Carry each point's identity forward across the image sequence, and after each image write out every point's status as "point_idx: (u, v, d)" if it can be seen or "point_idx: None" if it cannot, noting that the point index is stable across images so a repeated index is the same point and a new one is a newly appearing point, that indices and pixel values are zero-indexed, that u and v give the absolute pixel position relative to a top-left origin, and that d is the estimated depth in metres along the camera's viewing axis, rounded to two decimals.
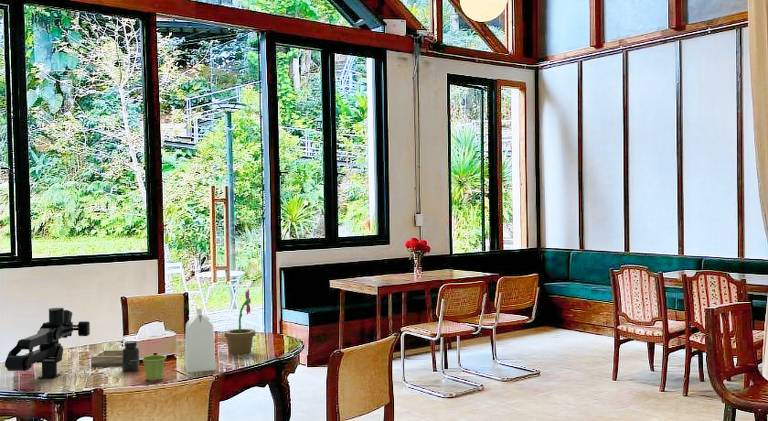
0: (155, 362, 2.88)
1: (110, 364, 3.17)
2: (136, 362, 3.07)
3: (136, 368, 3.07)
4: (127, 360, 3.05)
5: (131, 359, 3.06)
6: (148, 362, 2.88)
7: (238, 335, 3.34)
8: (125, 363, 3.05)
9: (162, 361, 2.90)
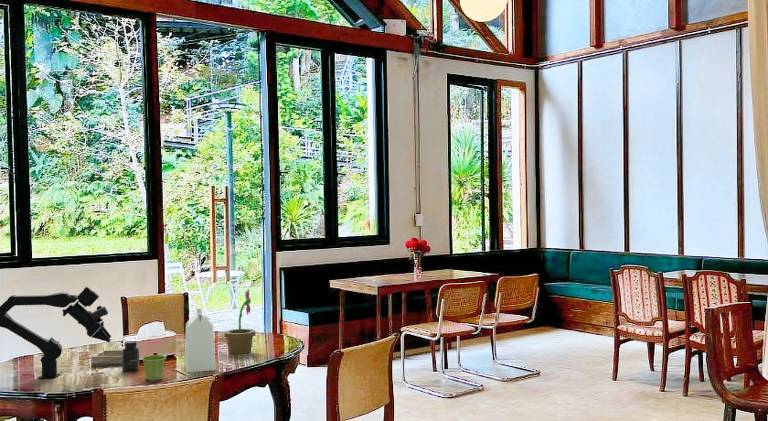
0: (155, 362, 2.88)
1: (110, 364, 3.17)
2: (136, 362, 3.07)
3: (136, 368, 3.07)
4: (127, 360, 3.05)
5: (131, 359, 3.06)
6: (148, 362, 2.88)
7: (238, 335, 3.34)
8: (125, 363, 3.05)
9: (162, 361, 2.90)
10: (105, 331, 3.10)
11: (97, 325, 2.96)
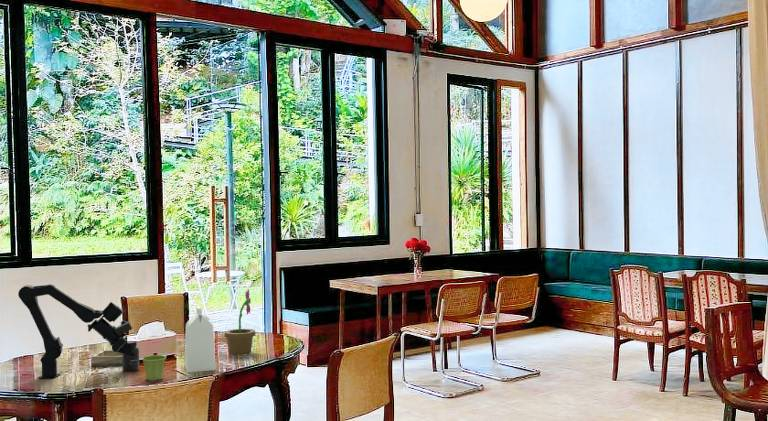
0: (155, 362, 2.88)
1: (110, 364, 3.17)
2: (136, 362, 3.07)
3: (136, 368, 3.07)
4: (127, 360, 3.05)
5: (131, 359, 3.06)
6: (148, 362, 2.88)
7: (238, 335, 3.34)
8: (125, 363, 3.05)
9: (162, 361, 2.90)
10: None
11: (122, 340, 2.99)
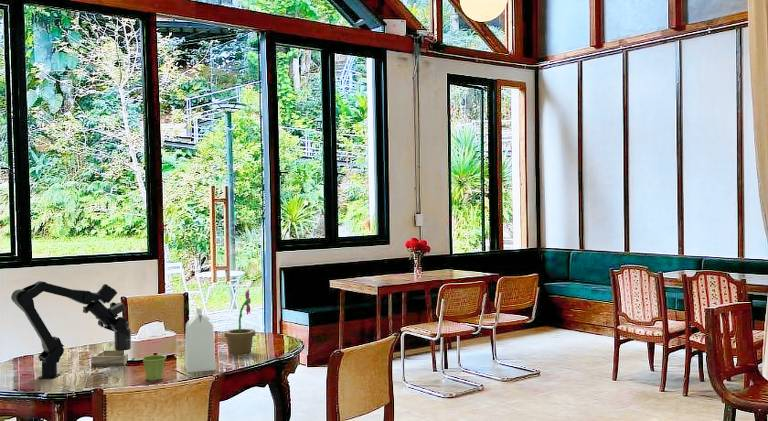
0: (155, 362, 2.88)
1: (110, 364, 3.17)
2: (130, 341, 3.19)
3: (130, 347, 3.19)
4: (122, 340, 3.16)
5: (127, 339, 3.17)
6: (148, 362, 2.88)
7: (238, 335, 3.34)
8: (120, 342, 3.16)
9: (162, 361, 2.90)
10: None
11: (124, 320, 3.11)
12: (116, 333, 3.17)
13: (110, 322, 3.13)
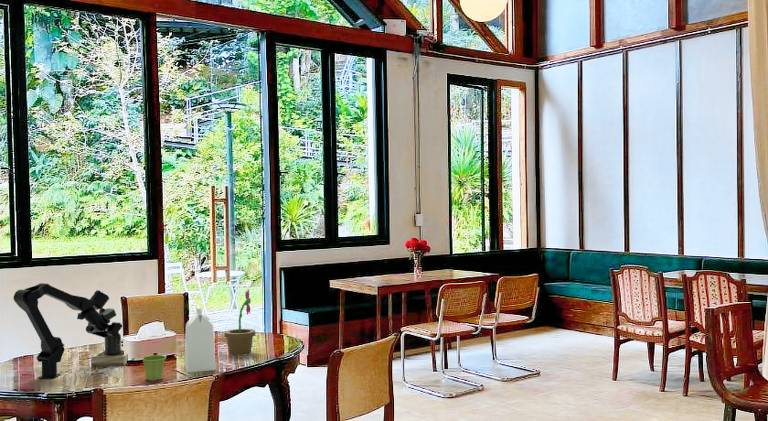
0: (155, 362, 2.88)
1: (110, 364, 3.17)
2: (120, 346, 3.25)
3: (120, 352, 3.25)
4: (115, 345, 3.21)
5: (118, 343, 3.23)
6: (148, 362, 2.88)
7: (238, 335, 3.34)
8: (112, 347, 3.21)
9: (162, 361, 2.90)
10: (106, 333, 3.26)
11: (120, 325, 3.17)
12: (108, 338, 3.21)
13: (103, 328, 3.17)
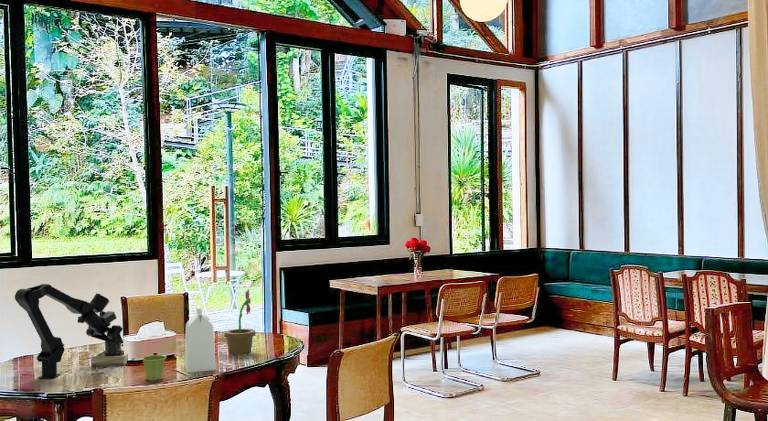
0: (155, 362, 2.88)
1: (110, 364, 3.17)
2: None
3: None
4: (115, 350, 3.21)
5: (118, 348, 3.23)
6: (148, 362, 2.88)
7: (238, 335, 3.34)
8: (112, 352, 3.21)
9: (162, 361, 2.90)
10: (105, 335, 3.26)
11: (120, 328, 3.17)
12: (108, 343, 3.21)
13: (104, 331, 3.17)
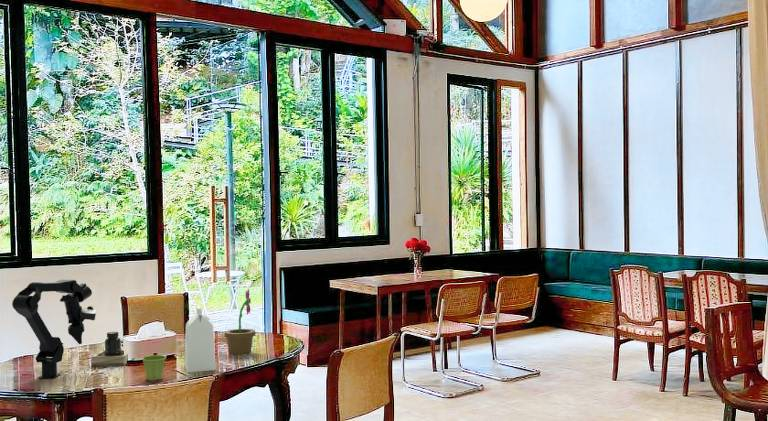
0: (155, 362, 2.88)
1: (110, 364, 3.17)
2: (120, 351, 3.25)
3: None
4: (115, 350, 3.21)
5: (118, 348, 3.23)
6: (148, 362, 2.88)
7: (238, 335, 3.34)
8: (112, 352, 3.21)
9: (162, 361, 2.90)
10: None
11: (81, 329, 3.06)
12: (108, 343, 3.21)
13: (72, 321, 3.11)
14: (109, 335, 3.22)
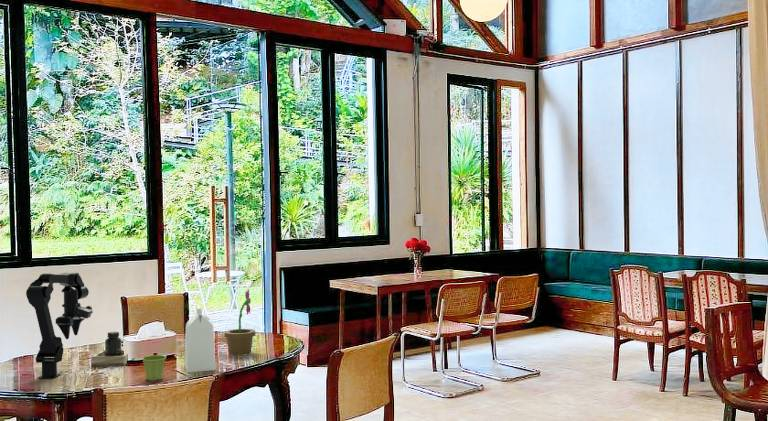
0: (155, 362, 2.88)
1: (110, 364, 3.17)
2: None
3: None
4: (115, 350, 3.21)
5: (119, 348, 3.23)
6: (148, 362, 2.88)
7: (238, 335, 3.34)
8: (112, 352, 3.21)
9: (162, 361, 2.90)
10: (77, 327, 3.21)
11: (67, 320, 3.07)
12: (108, 343, 3.21)
13: (66, 315, 3.13)
14: (110, 335, 3.22)
